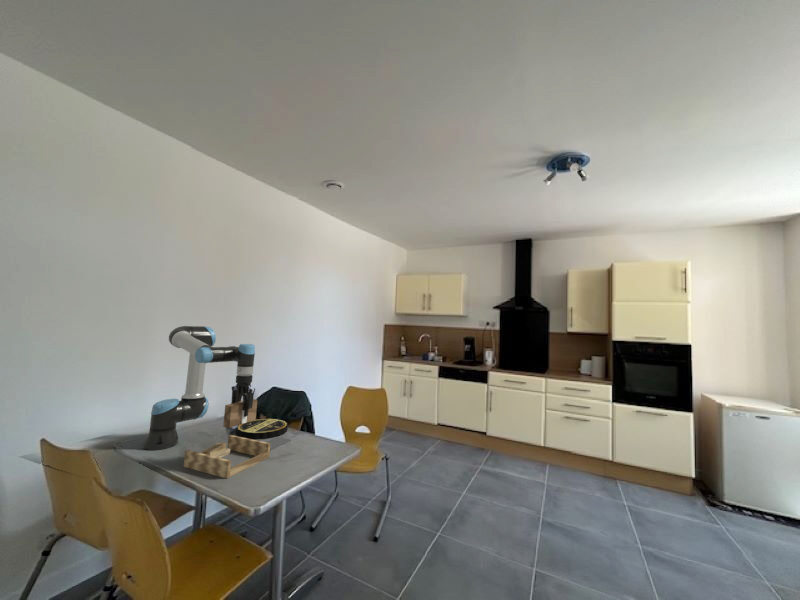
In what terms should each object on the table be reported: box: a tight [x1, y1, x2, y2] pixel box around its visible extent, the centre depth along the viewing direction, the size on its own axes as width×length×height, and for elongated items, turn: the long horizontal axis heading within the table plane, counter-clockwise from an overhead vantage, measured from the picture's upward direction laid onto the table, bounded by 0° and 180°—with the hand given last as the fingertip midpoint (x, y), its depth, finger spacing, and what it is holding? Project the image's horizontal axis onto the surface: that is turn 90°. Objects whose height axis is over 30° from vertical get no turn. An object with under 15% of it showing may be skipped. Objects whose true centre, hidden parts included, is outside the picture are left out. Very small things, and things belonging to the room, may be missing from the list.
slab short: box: [200, 442, 227, 456], centre depth 158 cm, size 4×12×3 cm, turn 174°
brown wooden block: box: [223, 398, 258, 428], centre depth 158 cm, size 4×16×10 cm, turn 159°
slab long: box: [215, 447, 231, 458], centre depth 158 cm, size 4×16×3 cm, turn 161°
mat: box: [266, 436, 292, 451], centre depth 179 cm, size 10×20×1 cm, turn 160°
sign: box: [235, 418, 289, 441], centre depth 200 cm, size 30×4×30 cm
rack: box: [183, 434, 271, 479], centre depth 155 cm, size 27×26×7 cm
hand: (240, 422), depth 158 cm, fingers closed on brown wooden block, 4 cm apart
